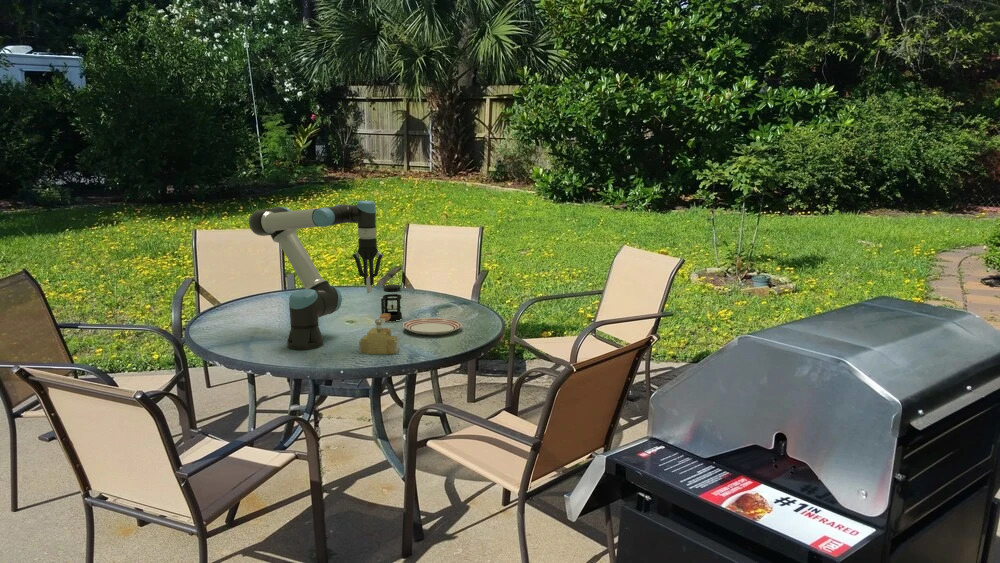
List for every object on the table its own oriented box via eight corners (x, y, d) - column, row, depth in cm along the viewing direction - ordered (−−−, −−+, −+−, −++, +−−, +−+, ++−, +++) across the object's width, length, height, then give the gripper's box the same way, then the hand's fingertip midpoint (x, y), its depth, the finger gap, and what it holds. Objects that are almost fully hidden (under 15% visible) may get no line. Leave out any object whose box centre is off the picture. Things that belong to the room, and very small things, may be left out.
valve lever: (374, 330, 306) (374, 321, 305) (383, 321, 321) (383, 312, 320) (382, 331, 306) (381, 321, 305) (390, 321, 321) (390, 312, 320)
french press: (394, 316, 369) (393, 271, 364) (407, 319, 363) (406, 273, 358) (376, 320, 360) (375, 274, 355) (389, 323, 354) (388, 276, 350)
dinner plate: (432, 320, 362) (431, 313, 361) (473, 329, 345) (473, 323, 344) (390, 331, 341) (390, 324, 340) (432, 342, 324) (432, 334, 323)
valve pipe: (358, 353, 306) (357, 332, 304) (363, 348, 314) (362, 327, 312) (396, 354, 304) (395, 333, 303) (400, 349, 312) (400, 328, 311)
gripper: (349, 238, 307) (351, 294, 312) (380, 239, 306) (382, 294, 311) (354, 236, 314) (356, 290, 319) (384, 236, 313) (386, 291, 318)
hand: (369, 292), depth 315 cm, fingers closed
